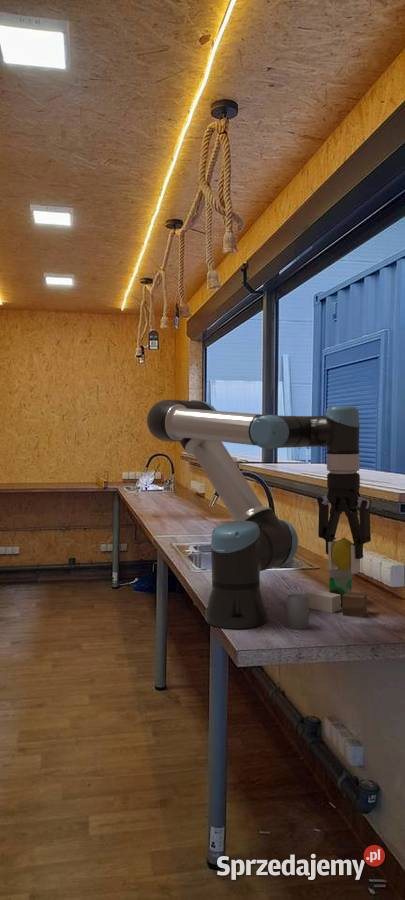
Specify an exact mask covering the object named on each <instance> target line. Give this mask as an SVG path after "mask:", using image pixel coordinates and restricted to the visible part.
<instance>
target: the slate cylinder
mask: <svg viewBox="0 0 405 900" xmlns="http://www.w3.org/2000/svg"><path fill="white" fill-rule="evenodd" d="M309 609H310V608H309V597H308V596H307V595H306V594H302V593H292V594H288V595H287V596H286V627H287V628H288V629H291V630H300V631H301V630H307V629H308V628H309V627H310V626H309V623H310V619H309V614H310V613H309V612H310V611H309Z"/></svg>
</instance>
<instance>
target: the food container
mask: <svg viewBox="0 0 405 900" xmlns="http://www.w3.org/2000/svg"><path fill="white" fill-rule="evenodd" d="M355 574H356V573H354V574H353V573H351V568H349V569H347V570H346V571H345V572H344V571H342V570H341V569H340V568H336V569H332V570H330V569H328V578H329V582H328V583H329V593H334V594H339V595H341V607H343V598H342V596H343V595H344V594H345V593H346V592H347V591H350V592H352V590H353V589H352V586H353V576H354V575H355Z"/></svg>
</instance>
